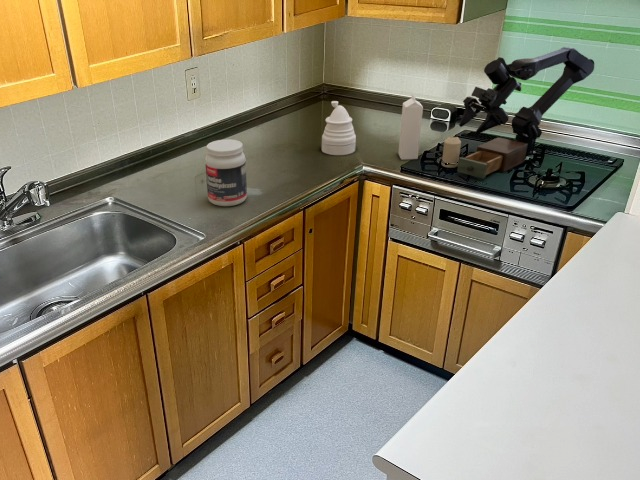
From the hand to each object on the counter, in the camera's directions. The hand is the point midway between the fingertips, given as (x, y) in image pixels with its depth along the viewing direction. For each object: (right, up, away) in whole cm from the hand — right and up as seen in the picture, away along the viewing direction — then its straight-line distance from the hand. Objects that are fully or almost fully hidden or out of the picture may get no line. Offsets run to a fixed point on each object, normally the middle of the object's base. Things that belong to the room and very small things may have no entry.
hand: (467, 129), depth 216 cm
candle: (-5, -11, +5) cm, 13 cm away
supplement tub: (-83, -26, -12) cm, 88 cm away
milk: (-17, -6, +14) cm, 23 cm away
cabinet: (+12, -11, +4) cm, 17 cm away
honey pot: (-41, -1, +25) cm, 48 cm away
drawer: (+3, -15, -3) cm, 15 cm away
